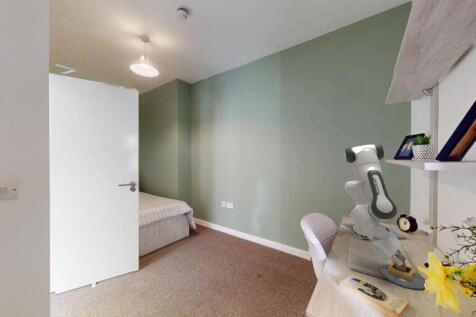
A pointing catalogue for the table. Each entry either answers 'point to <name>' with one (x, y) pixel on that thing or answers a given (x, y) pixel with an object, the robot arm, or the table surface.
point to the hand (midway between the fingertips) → (403, 262)
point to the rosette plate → (403, 276)
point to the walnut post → (403, 266)
